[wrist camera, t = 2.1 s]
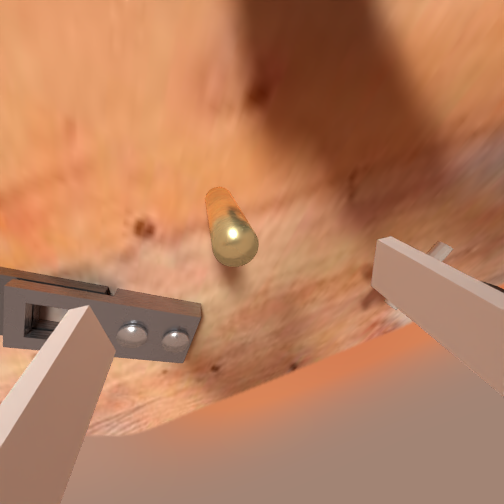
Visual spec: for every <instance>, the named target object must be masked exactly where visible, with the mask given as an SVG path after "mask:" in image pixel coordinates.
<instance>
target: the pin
mask: <svg viewBox="0 0 504 504" xmlns="http://www.w3.org/2000/svg"><path fill="white" fill-rule="evenodd" d="M205 203H206V209H207V216H208V222H209V229H210V236H211V242H212V249H213V253H214V256H215V257H216V259H217V260H218V261H219V262H220V263H222V264H223V265H226V266H230V267H238V266H242V265H245V264H247V263H248V262H250V261H251V260H252V259H253V258H254V256H255V255H256V253H257V251H258V245H259V244H258V238H257V236H256V234H255V232H254V231H253V229H252V228H251V226H250V224H249V223H248V221H247V219H246V218H245V216H244V214H243V213H242V211H241V210H240V208H239V206H238V205H237V203H236V201H235V200H234V198H233V196H232V195H231V193H230V192H229V191H228V190H227V189H225V188H222V187H216V188H213V189H211V190H210V191H209V192H208V193H207V195H206V198H205Z"/></svg>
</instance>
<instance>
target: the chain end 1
mask: <svg viewBox="0 0 504 504" xmlns="http://www.w3.org/2000/svg"><path fill="white" fill-rule="evenodd" d="M12 279H17V280H23V281H29V282H35V283H40V284H46V285H52V286H58V287H64V288H69V289H75V290H81V291H87V292H93V293H98V294H104V295H107V290H108V287H107V286H101V285H96V284H90V283H85V282H80V281H74V280H69V279H63V278H58V277H52V276H47V275H42V274H36V273H31V272H25V271H20V270H14V269H9V268H4V267H0V335H3V322H4V285H6V284H7V283H8V282H9V281H11V280H12ZM39 309H40V305H36V304H32V317H31V329H35V330H43V331H52V332H53V331H54V330H55V328H56V327H57V326H58V324H59V323H60V322H53V321H45V320H39Z"/></svg>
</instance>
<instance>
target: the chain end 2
mask: <svg viewBox="0 0 504 504" xmlns="http://www.w3.org/2000/svg"><path fill="white" fill-rule="evenodd" d="M32 304H36V305H43V306H49V307H56V308H63V309H74V308H78V307H83V306H87V305H90V307H91V309H92V311H93V312H94V314H95V316H96V317H97V319H98V321H99V323H100V324H101V326H102V328H103V330H104V331H105V333H106V335H107V336H108V338H109V340H110V342H111V343H112V345H113V347H114V348H115V350H116V352H115V355H114V357H119V358H130V359H141V360H152V361H163V362H174V363H183V362H184V360H185V357H186V355H187V352H188V350H189V347H190V345H191V342H192V339H193V337H194V334H195V332H196V329H197V327H198V324H199V322H200V319H201V304H199V303H194V302H188V301H183V300H177V299H172V298H167V297H161V296H156V295H150V294H145V293H139V292H134V291H128V290H123V289H117V291H116V293H115V295H114V296H110V295H104V294H98V293H93V292H87V291H81V290H75V289H69V288H64V287H58V286H52V285H46V284H40V283H35V282H29V281H23V280H17V279H12V280H11V281H9V282H8V283H7V284H6V285H4V322H3V347H9V348H20V349H31V350H40V349H41V348H42V346H43V345H44V344H45V342H46V341H47V339H48V338H49V337H50V335H51V334H52V331H43V330H35V329H31V317H32Z"/></svg>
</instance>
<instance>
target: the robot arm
mask: <svg viewBox="0 0 504 504" xmlns="http://www.w3.org/2000/svg"><path fill="white" fill-rule="evenodd" d="M371 286H372V287H373V288H374V289H375V290H377V291H378V292H379V293H380V294H381V295H383V296H384V297H385V298H386V299H387V300H389V301H390V302H391V303H392V304H393V305H394V306H396V307H397V308H398V309H399V310H400V311H402V312H403V313H404V314H405V315H406V316H408V317H409V318H410V319H411V320H412V321H414V322H415V323H416V324H417V325H418V326H419V327H421V328H422V329H423V330H424V331H425V332H427V333H428V334H429V335H430V336H431V337H433V338H434V339H435V340H436V341H437V342H439V343H440V344H441V345H442V346H443V347H445V348H446V349H447V350H448V351H449V352H450V353H452V354H453V355H454V356H455V357H457V358H458V359H459V360H460V361H461V362H462V363H463V364H465V365H466V366H467V367H468V368H470V369H471V370H472V371H473V372H474V373H475V374H477V375H478V376H479V377H480V378H481V379H483V380H484V381H485V382H486V383H487V384H489V385H490V386H491V387H492V388H493V389H494V390H496V391H497V392H498V393H499V394H500V395H502V396H503V397H504V289H502V288H500V287H498V286H495V285H491V284H488V283H485V282H482V281H479V280H477V279H475V278H473V277H471V276H469V275H467V274H465V273H463V272H461V271H459V270H457V269H455V268H453V267H451V266H449V265H447V264H445V263H443V262H441V261H439V260H437V259H435V258H433V257H431V256H429V255H427V254H425V253H423V252H421V251H419V250H417V249H415V248H413V247H411V246H409V245H407V244H405V243H403V242H401V241H399V240H397V239H395V238H393V237H391V236H390V237H386V238H381V239H377V243H376V251H375V258H374V265H373V273H372V280H371ZM115 352H116V350H115V348H114V347H113V345H112V343H111V342H110V340H109V338H108V336H107V335H106V333H105V331H104V330H103V328H102V326H101V324H100V323H99V321H98V319H97V317H96V316H95V314H94V312H93V311H92V309H91V307H90V305H87V306H83V307H78V308H74V309H70V310H68V312H67V313H66V315H65V316H64V317H63V319H62V320H61V321H60V323H59V324H58V326H57V327H56V328H55V330H54V331H53V332H52V334H51V335H50V337H49V338H48V339H47V341H46V342H45V344H44V345H43V346H42V348H41V349H40V350H39V352H38V353H37V355H36V356H35V357H34V359H33V360H32V361H31V363H30V364H29V366H28V367H27V368H26V370H25V371H24V373H23V374H22V375H21V377H20V378H19V379H18V381H17V382H16V384H15V385H14V386H13V388H12V389H11V390H10V392H9V393H8V395H7V396H6V397H5V399H4V400H3V401H2V403H1V404H0V504H60V503H61V500H62V497H63V495H64V492H65V489H66V486H67V483H68V481H69V478H70V476H71V473H72V470H73V467H74V464H75V462H76V459H77V456H78V454H79V451H80V448H81V445H82V443H83V440H84V437H85V435H86V432H87V429H88V426H89V424H90V421H91V418H92V415H93V413H94V410H95V407H96V404H97V402H98V399H99V396H100V393H101V391H102V388H103V385H104V382H105V380H106V377H107V374H108V372H109V369H110V366H111V363H112V361H113V358H114V355H115Z"/></svg>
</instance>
